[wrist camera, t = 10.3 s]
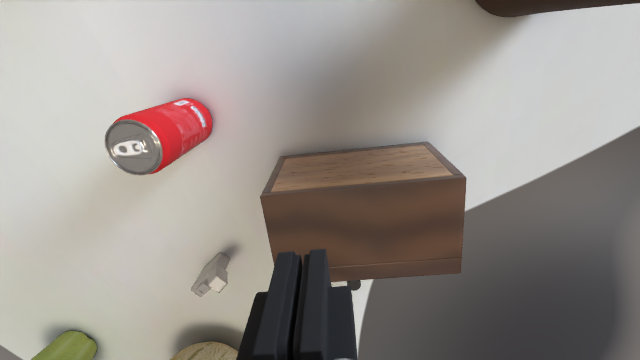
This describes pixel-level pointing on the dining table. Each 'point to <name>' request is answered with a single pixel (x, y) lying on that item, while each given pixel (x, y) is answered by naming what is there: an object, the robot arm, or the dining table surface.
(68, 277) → the dining table surface
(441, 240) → the cabinet
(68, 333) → the plant pot
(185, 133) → the beverage can
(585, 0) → the olive oil
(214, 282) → the lighter
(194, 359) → the cantaloupe
